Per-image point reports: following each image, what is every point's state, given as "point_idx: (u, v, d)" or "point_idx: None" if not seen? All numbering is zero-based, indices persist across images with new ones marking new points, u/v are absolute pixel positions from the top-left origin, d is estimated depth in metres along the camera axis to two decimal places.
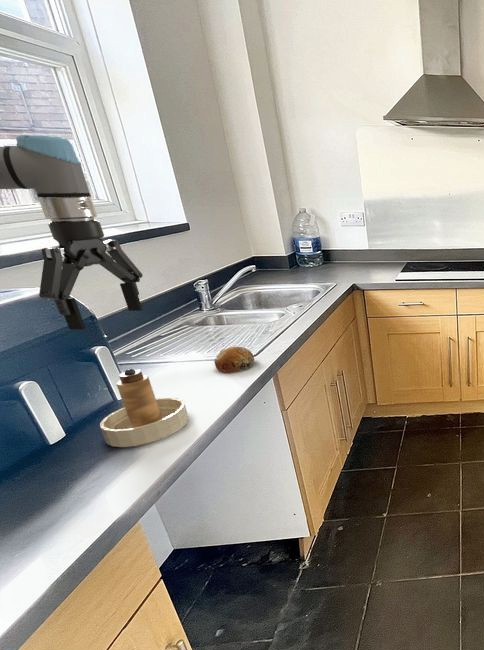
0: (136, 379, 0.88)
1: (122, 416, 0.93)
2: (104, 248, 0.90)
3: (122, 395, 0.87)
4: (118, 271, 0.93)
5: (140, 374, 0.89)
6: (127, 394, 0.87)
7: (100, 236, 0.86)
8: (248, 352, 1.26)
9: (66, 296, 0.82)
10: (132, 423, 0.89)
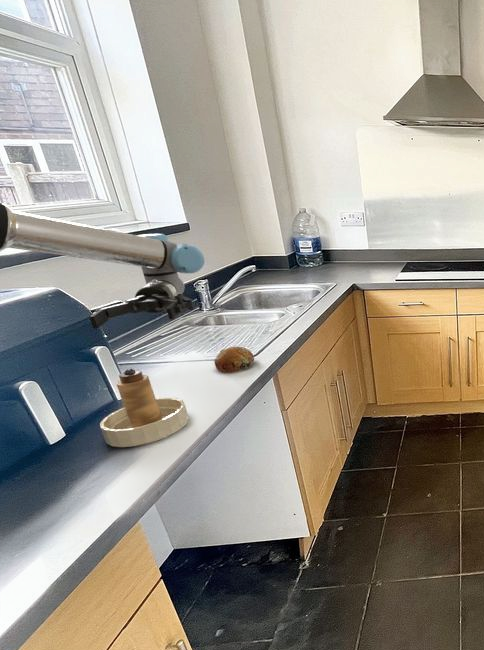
0: (136, 379, 0.88)
1: (122, 416, 0.93)
2: (165, 296, 1.08)
3: (122, 395, 0.87)
4: (168, 301, 1.04)
5: (140, 374, 0.89)
6: (127, 394, 0.87)
7: (153, 286, 1.08)
8: (248, 352, 1.26)
9: (98, 309, 0.97)
10: (132, 423, 0.89)
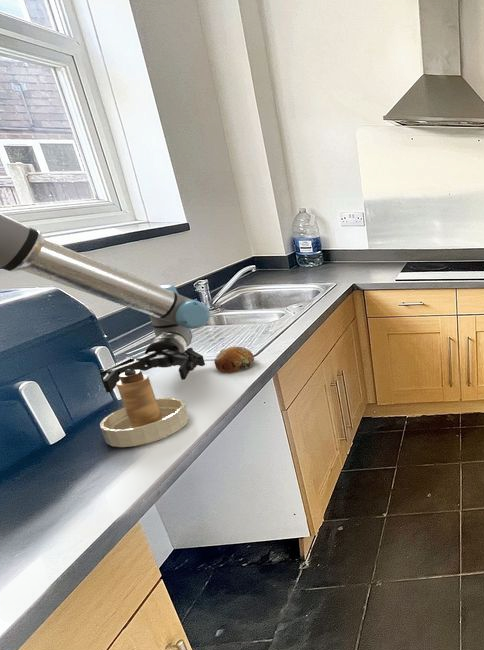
0: (136, 379, 0.88)
1: (122, 416, 0.93)
2: (175, 351, 1.09)
3: (122, 395, 0.87)
4: (179, 358, 1.05)
5: (140, 374, 0.89)
6: (127, 394, 0.87)
7: (163, 341, 1.09)
8: (248, 352, 1.26)
9: (110, 370, 0.97)
10: (132, 423, 0.89)
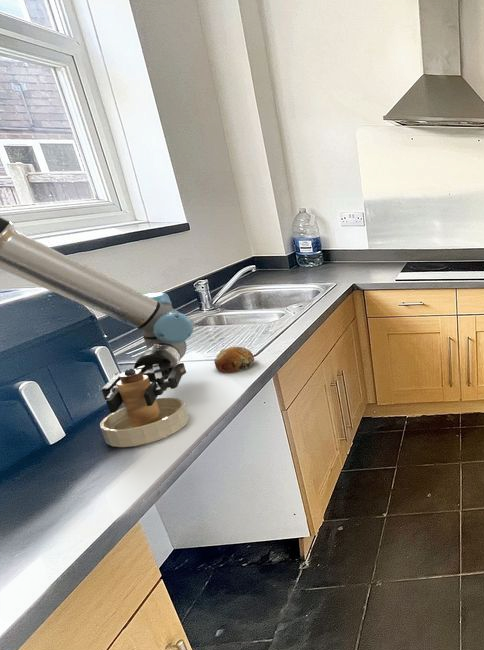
0: (136, 379, 0.88)
1: (122, 416, 0.93)
2: (165, 366, 1.00)
3: (122, 395, 0.87)
4: (155, 377, 0.95)
5: (140, 374, 0.89)
6: (127, 394, 0.87)
7: (154, 354, 1.01)
8: (248, 352, 1.26)
9: (114, 387, 0.89)
10: (132, 423, 0.89)
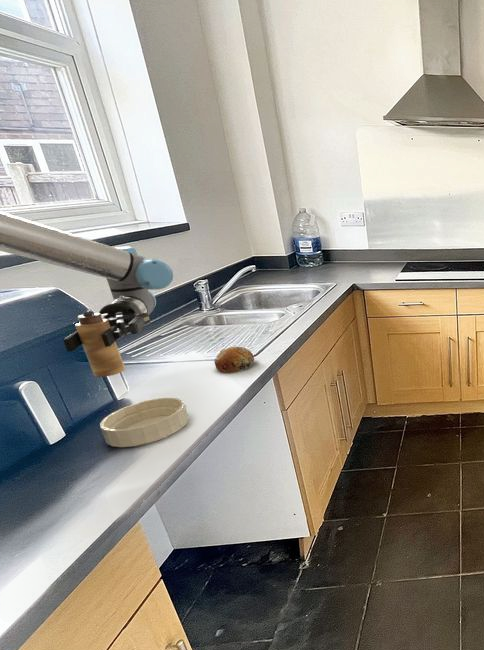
0: (95, 321, 0.89)
1: (122, 416, 0.93)
2: (129, 314, 1.01)
3: (81, 336, 0.88)
4: (117, 323, 0.96)
5: (99, 316, 0.90)
6: (86, 335, 0.88)
7: (118, 303, 1.02)
8: (248, 352, 1.26)
9: None
10: (92, 365, 0.91)
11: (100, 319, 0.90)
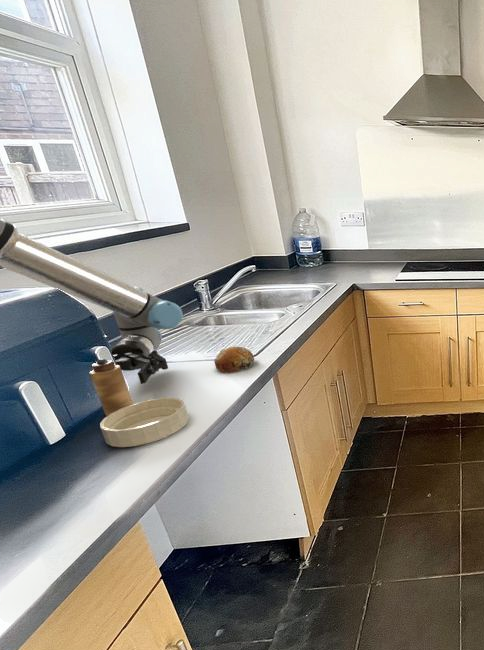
0: (108, 368, 0.94)
1: (122, 416, 0.93)
2: (139, 354, 1.07)
3: (95, 383, 0.94)
4: (141, 361, 1.03)
5: (112, 364, 0.95)
6: (99, 382, 0.94)
7: (127, 344, 1.07)
8: (248, 352, 1.26)
9: None
10: (104, 409, 0.96)
11: (113, 366, 0.95)
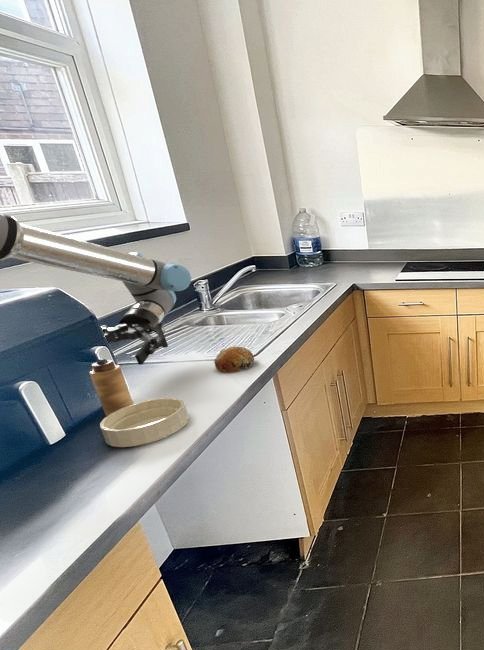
0: (108, 368, 0.94)
1: (122, 416, 0.93)
2: (145, 326, 1.14)
3: (95, 383, 0.94)
4: (144, 337, 1.10)
5: (112, 364, 0.95)
6: (99, 382, 0.94)
7: (136, 314, 1.14)
8: (248, 352, 1.26)
9: None
10: (104, 409, 0.96)
11: (113, 366, 0.95)
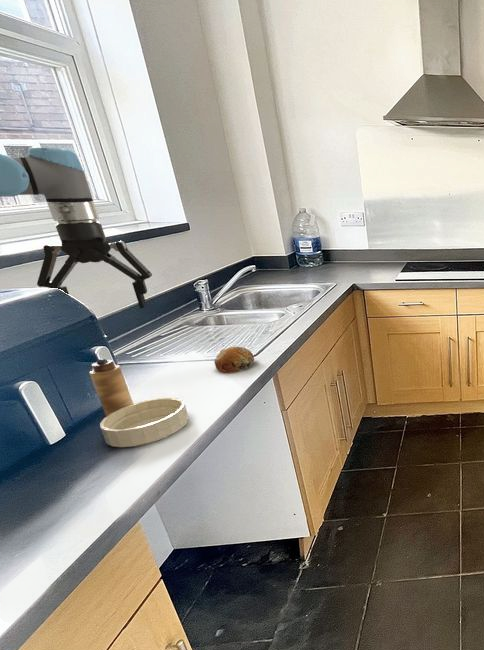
0: (108, 368, 0.94)
1: (122, 416, 0.93)
2: (103, 248, 0.98)
3: (95, 383, 0.94)
4: None
5: (112, 364, 0.95)
6: (99, 382, 0.94)
7: (81, 238, 0.94)
8: (248, 352, 1.26)
9: (52, 286, 0.96)
10: (104, 409, 0.96)
11: (113, 366, 0.95)
